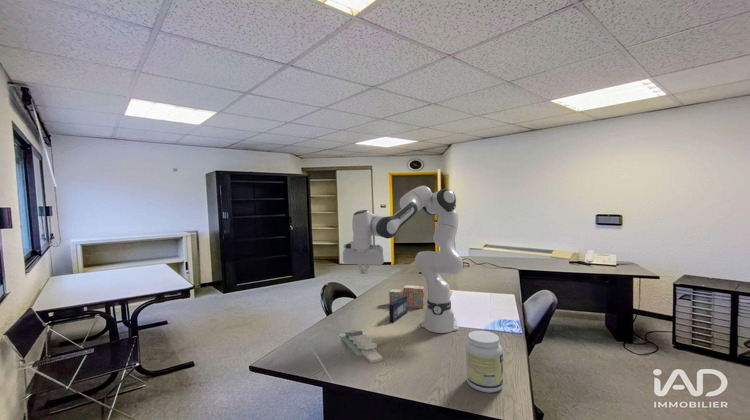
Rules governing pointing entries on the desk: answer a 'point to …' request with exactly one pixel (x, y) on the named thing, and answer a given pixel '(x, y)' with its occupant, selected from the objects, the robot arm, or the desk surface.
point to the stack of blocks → (409, 295)
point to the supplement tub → (484, 361)
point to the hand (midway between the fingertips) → (363, 273)
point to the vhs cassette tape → (397, 309)
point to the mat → (351, 345)
